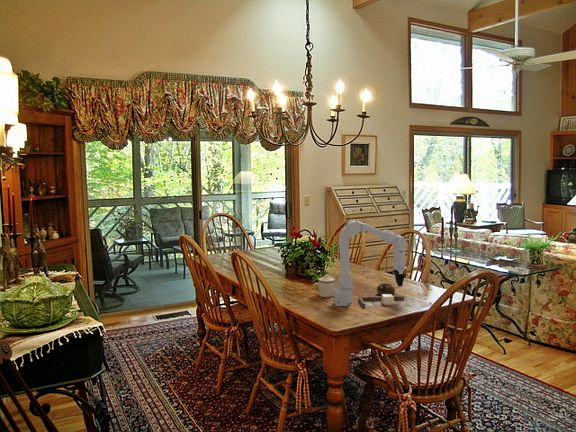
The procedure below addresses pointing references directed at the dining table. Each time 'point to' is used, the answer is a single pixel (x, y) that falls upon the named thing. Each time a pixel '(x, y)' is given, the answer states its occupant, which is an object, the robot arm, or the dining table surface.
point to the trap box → (377, 300)
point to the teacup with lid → (325, 286)
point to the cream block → (387, 299)
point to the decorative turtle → (385, 289)
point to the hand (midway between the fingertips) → (399, 284)
